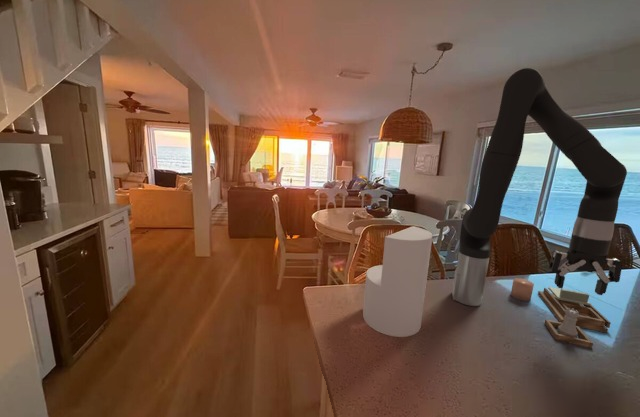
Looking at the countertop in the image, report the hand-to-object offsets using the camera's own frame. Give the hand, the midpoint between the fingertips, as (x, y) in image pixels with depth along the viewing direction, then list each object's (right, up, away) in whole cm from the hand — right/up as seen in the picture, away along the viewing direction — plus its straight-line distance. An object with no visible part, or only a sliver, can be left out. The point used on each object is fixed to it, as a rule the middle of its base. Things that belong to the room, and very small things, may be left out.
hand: (578, 290), depth 74 cm
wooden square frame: (-1, -14, +3) cm, 14 cm away
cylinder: (-51, -11, +7) cm, 52 cm away
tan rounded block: (+2, -10, +24) cm, 26 cm away
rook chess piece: (-1, -14, +3) cm, 14 cm away
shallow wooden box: (+12, -12, +16) cm, 23 cm away
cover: (+15, -8, +19) cm, 25 cm away
